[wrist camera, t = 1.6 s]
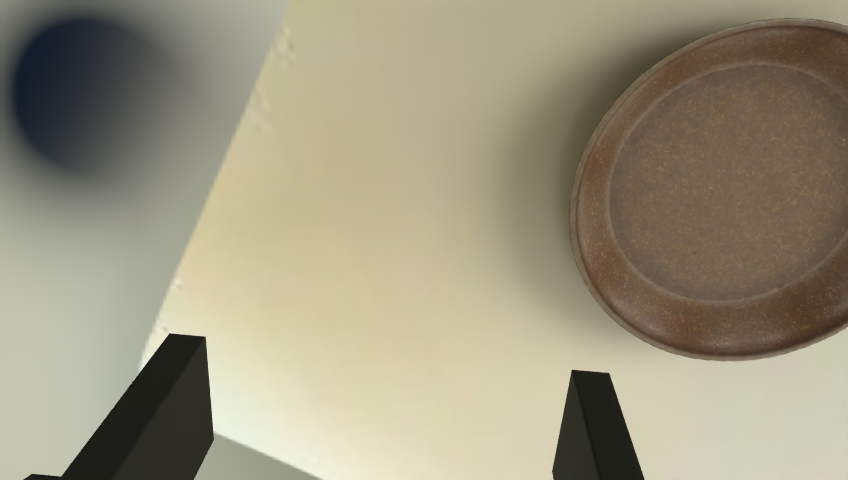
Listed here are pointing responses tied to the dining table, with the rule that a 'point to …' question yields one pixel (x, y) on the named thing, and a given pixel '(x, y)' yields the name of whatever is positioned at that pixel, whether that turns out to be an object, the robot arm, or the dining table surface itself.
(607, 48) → the dining table surface
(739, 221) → the saucer
